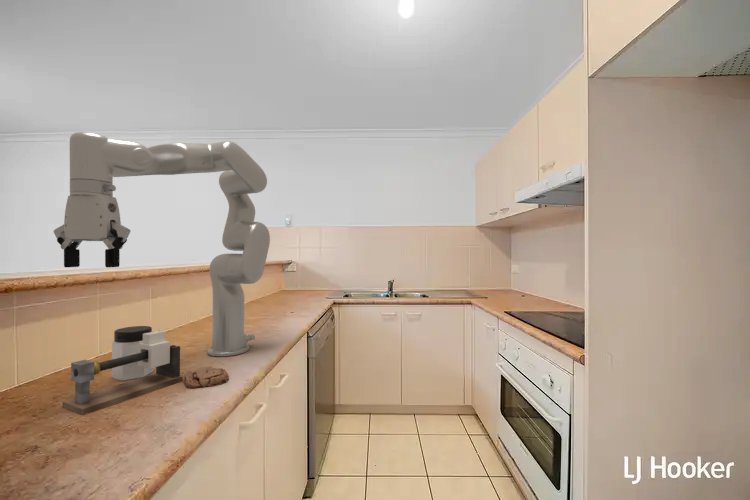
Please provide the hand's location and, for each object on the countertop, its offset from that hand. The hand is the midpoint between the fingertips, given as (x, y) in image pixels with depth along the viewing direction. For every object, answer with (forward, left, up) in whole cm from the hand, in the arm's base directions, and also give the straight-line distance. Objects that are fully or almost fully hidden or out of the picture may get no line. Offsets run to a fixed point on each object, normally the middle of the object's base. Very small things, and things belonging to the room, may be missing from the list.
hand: (92, 267), depth 79 cm
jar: (-12, -6, -29) cm, 32 cm away
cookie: (-18, +15, -29) cm, 37 cm away
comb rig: (-5, +6, -29) cm, 30 cm away
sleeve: (-10, +6, -24) cm, 27 cm away
